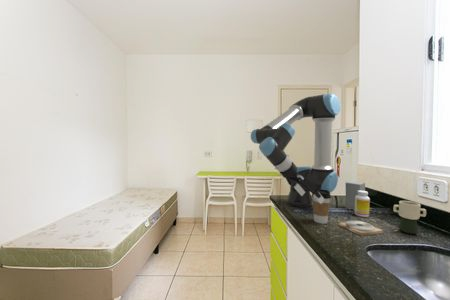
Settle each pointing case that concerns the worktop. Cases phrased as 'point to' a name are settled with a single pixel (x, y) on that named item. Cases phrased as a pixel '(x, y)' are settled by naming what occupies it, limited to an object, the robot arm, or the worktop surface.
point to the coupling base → (360, 227)
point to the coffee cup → (321, 207)
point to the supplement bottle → (362, 204)
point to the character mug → (409, 215)
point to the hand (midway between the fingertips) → (312, 197)
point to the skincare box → (353, 192)
